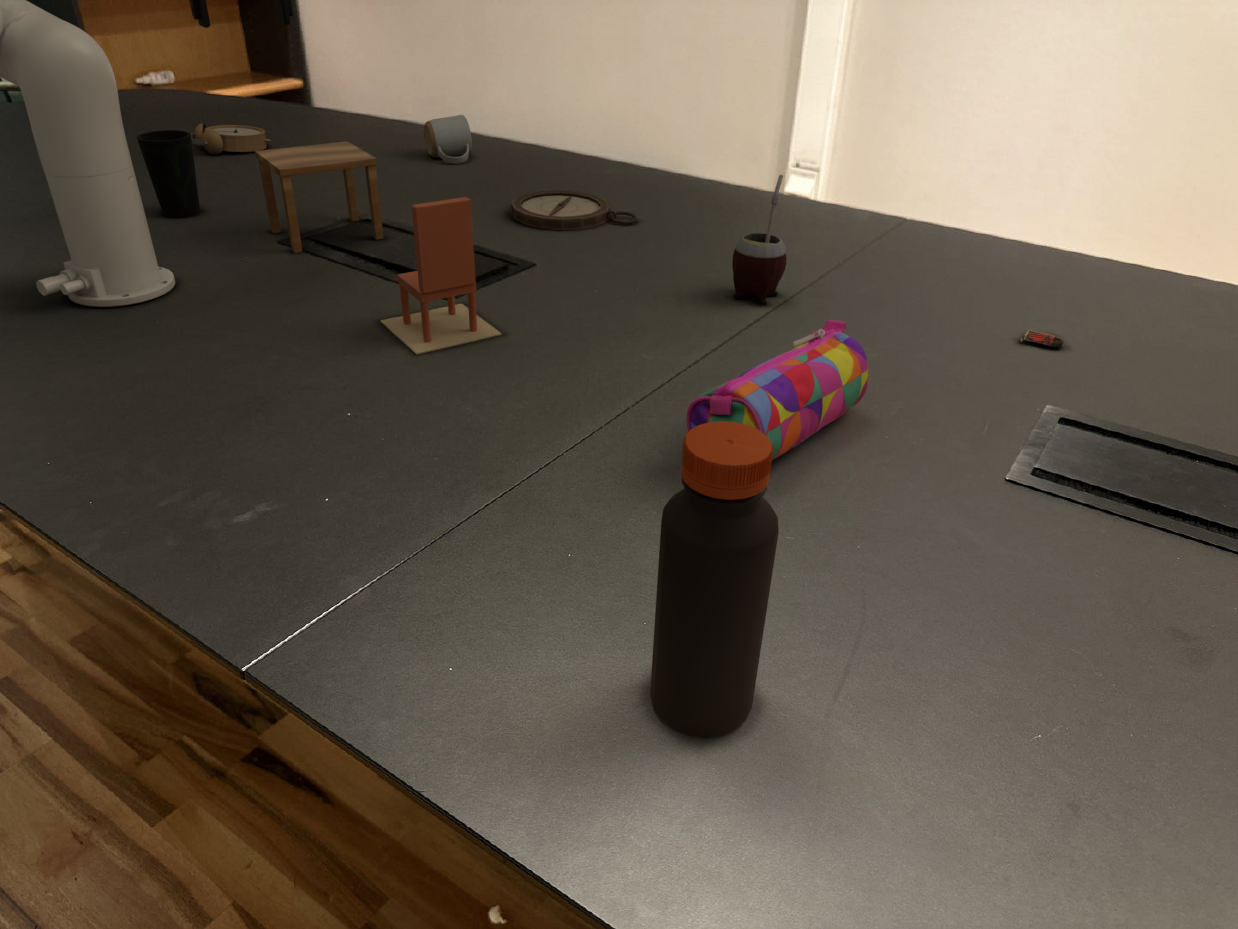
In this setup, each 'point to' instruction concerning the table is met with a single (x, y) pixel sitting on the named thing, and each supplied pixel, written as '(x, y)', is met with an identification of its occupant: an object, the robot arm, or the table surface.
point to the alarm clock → (229, 138)
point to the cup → (171, 171)
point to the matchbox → (1043, 338)
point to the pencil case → (791, 389)
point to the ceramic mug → (448, 138)
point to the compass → (564, 210)
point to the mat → (439, 329)
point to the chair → (441, 259)
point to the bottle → (713, 581)
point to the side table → (312, 162)
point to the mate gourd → (759, 261)
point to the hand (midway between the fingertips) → (245, 24)
